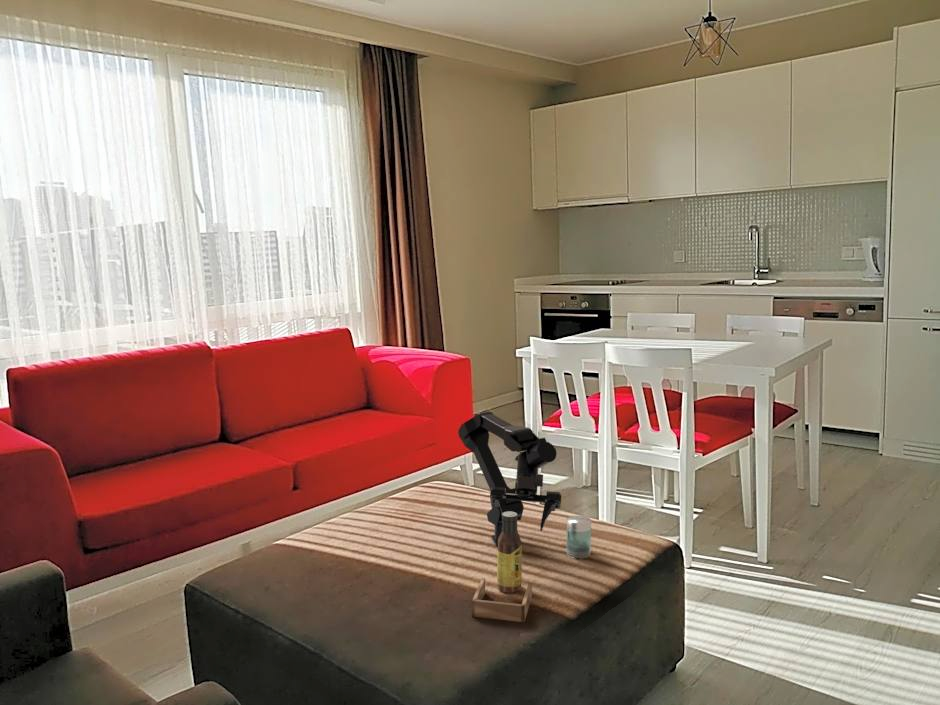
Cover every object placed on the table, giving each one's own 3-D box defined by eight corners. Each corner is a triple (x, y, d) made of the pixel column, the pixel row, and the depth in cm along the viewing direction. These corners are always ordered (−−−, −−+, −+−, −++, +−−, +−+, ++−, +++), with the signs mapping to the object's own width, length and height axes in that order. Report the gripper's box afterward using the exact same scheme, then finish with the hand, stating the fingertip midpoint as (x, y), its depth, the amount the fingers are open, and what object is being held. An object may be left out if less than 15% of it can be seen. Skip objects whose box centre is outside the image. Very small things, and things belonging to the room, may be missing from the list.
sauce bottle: (519, 595, 197) (520, 520, 194) (495, 593, 199) (495, 518, 195) (523, 583, 204) (523, 510, 200) (499, 581, 205) (499, 508, 201)
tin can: (563, 550, 223) (563, 516, 221) (585, 547, 224) (586, 514, 223) (571, 560, 217) (571, 526, 215) (594, 558, 218) (594, 523, 216)
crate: (482, 592, 199) (482, 578, 198) (531, 598, 196) (531, 583, 195) (471, 616, 187) (471, 600, 187) (524, 622, 185) (524, 606, 184)
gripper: (492, 458, 207) (486, 516, 199) (563, 464, 205) (560, 522, 198) (493, 474, 217) (488, 529, 209) (561, 479, 215) (558, 535, 207)
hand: (523, 529), depth 206 cm, fingers open, 9 cm apart
